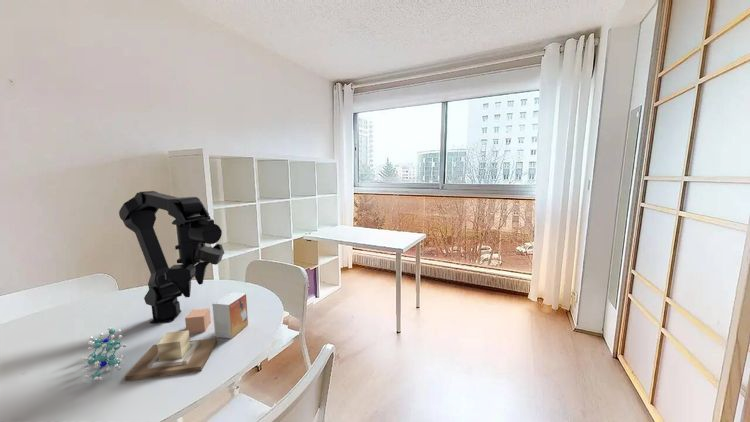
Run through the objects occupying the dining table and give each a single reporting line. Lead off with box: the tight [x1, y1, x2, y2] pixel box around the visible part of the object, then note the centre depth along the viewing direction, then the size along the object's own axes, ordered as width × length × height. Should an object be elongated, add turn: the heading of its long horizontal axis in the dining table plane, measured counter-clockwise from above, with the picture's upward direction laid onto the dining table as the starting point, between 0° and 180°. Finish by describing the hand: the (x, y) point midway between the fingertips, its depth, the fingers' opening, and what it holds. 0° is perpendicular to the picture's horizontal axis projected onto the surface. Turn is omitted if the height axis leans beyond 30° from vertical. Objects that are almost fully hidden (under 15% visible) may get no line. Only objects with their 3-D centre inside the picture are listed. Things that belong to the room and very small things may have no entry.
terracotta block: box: [184, 307, 212, 334], centre depth 87 cm, size 5×5×5 cm
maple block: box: [156, 330, 191, 362], centre depth 72 cm, size 5×5×5 cm
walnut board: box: [124, 337, 219, 382], centre depth 73 cm, size 16×12×2 cm
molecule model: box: [81, 326, 127, 381], centre depth 70 cm, size 8×18×7 cm, turn 41°
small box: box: [212, 292, 249, 339], centre depth 85 cm, size 8×6×10 cm
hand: (194, 290), depth 85 cm, fingers open, 9 cm apart
